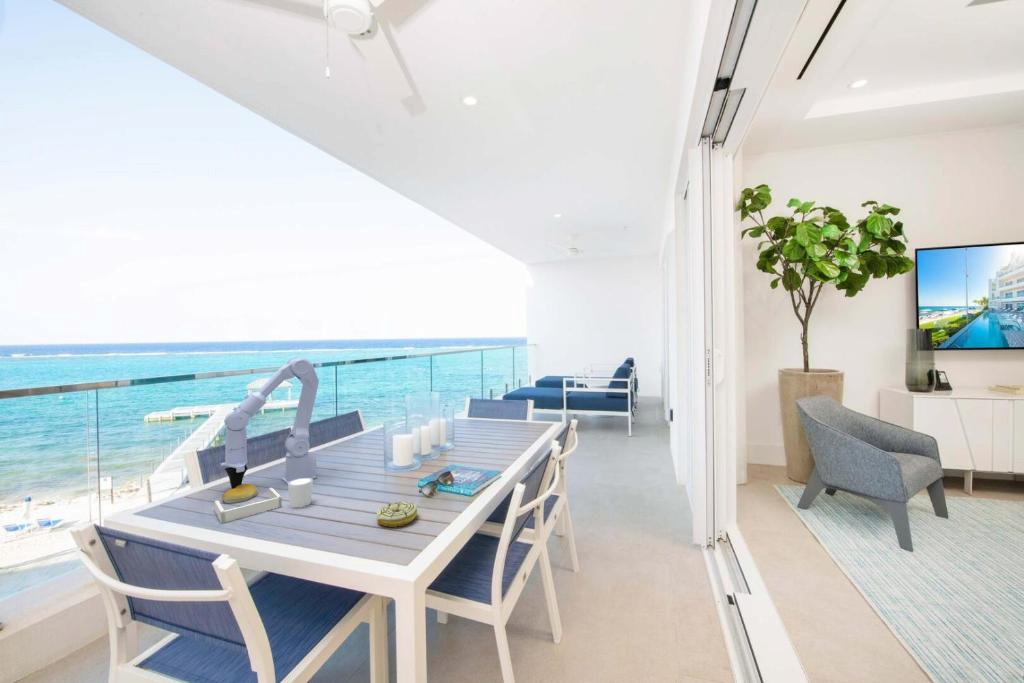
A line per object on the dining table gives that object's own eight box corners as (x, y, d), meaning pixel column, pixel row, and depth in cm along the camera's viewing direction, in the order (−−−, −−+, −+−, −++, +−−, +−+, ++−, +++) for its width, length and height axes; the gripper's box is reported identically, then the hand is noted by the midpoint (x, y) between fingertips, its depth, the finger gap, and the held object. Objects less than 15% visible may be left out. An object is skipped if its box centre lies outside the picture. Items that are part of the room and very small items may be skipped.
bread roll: (216, 503, 117) (216, 490, 117) (241, 492, 126) (241, 480, 126) (239, 505, 116) (239, 492, 116) (263, 494, 125) (263, 482, 125)
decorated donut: (384, 512, 111) (384, 499, 111) (420, 512, 111) (421, 499, 111) (370, 529, 101) (371, 515, 101) (411, 529, 101) (411, 515, 101)
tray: (271, 496, 122) (271, 487, 122) (281, 507, 114) (281, 497, 114) (214, 511, 111) (214, 501, 111) (221, 523, 104) (221, 512, 104)
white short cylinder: (317, 499, 120) (317, 477, 120) (303, 509, 113) (303, 485, 113) (297, 499, 120) (297, 476, 120) (282, 508, 113) (282, 485, 113)
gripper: (217, 446, 128) (217, 486, 128) (225, 454, 118) (225, 498, 118) (242, 442, 133) (242, 480, 133) (252, 450, 123) (252, 492, 123)
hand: (236, 488), depth 126 cm, fingers closed
